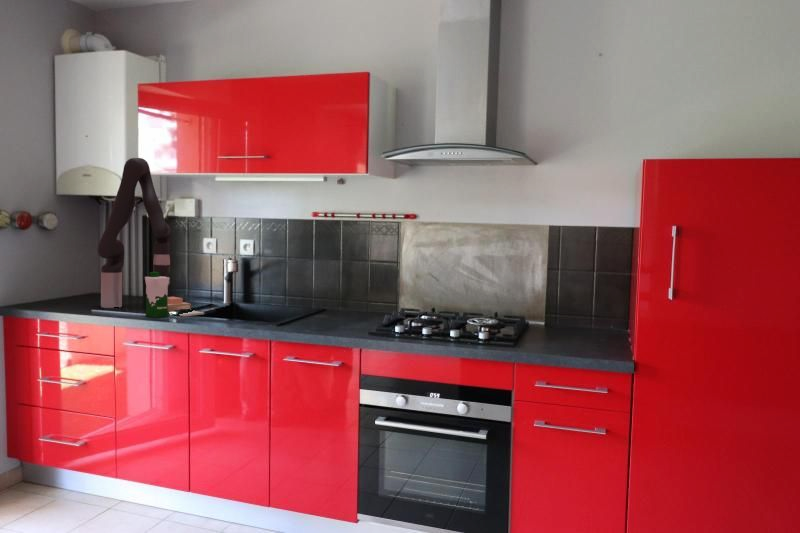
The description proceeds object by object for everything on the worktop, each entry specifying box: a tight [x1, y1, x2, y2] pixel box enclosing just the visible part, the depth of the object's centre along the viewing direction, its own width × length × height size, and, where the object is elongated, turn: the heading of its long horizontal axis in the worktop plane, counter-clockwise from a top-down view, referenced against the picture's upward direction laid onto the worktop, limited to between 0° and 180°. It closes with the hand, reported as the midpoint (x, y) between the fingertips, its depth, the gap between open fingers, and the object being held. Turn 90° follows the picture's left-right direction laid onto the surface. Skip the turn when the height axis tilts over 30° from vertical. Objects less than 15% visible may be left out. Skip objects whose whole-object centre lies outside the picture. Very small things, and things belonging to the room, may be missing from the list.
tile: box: [168, 296, 184, 304], centre depth 317 cm, size 8×6×2 cm
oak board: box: [168, 301, 191, 313], centre depth 317 cm, size 12×12×4 cm
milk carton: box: [144, 271, 170, 319], centre depth 300 cm, size 9×9×20 cm
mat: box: [179, 310, 205, 317], centre depth 310 cm, size 11×12×1 cm
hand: (161, 299), depth 322 cm, fingers closed
